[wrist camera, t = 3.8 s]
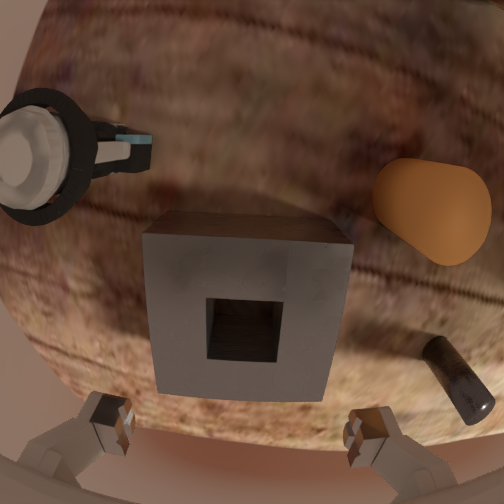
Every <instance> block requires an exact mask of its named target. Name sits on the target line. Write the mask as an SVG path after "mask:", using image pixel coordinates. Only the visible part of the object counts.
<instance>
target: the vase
mask: <svg viewBox="0 0 504 504" xmlns="http://www.w3.org/2000/svg"><path fill="white" fill-rule="evenodd" d="M488 1H489V2H491V3H492V4H494V5H495V6H497V7H499V8H501V9H502V10H504V0H488Z"/></svg>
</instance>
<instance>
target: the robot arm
mask: <svg viewBox="0 0 504 504" xmlns="http://www.w3.org/2000/svg"><path fill="white" fill-rule="evenodd" d="M131 407H132V403H131V400H130V399H129V398H124V397H120V396H115V395H110V394H106V393H101V392H97V391H93V392H91V393H90V395H89V396H88V398H87V400H86V402H85V404H84V405H83V407H82V409H81V411H80V413H79V414H78V416H77V418H72V419H70V420H68V421H66V422H64V423H62V424H60V425H59V426H57V427H55V428H53V429H51V430H49V431H47V432H45V433H43V434H41V435H39V436H38V437H36V438H34V439H32V440H30V441H29V442H28V444H27V445H26V447H25V449H24V450H23V452H22V454H21V455H20V457H19V459H18V461H17V462H15V461H13V460H10V459H9V458H7V457H5V456H3V455H1V454H0V504H139V503H135V502H130V501H126V500H122V499H118V498H114V497H110V496H106V495H103V494H99V493H96V492H93V491H89V490H86V489H83V488H81V486H80V484H79V483H78V481H77V480H76V478H75V477H76V476H77V475H78V474H79V473H81V472H82V471H83V470H85V469H86V468H87V467H88V466H90V465H91V464H92V463H94V462H95V461H96V460H97V459H98V458H100V457H101V456H102V455H104V454H105V453H110V454H114V455H119V456H125V455H126V453H127V450H128V447H129V440H128V438H130V437H131V436H133V433H134V430H135V415H134V413H133V412H132V411H131V410H130V409H131ZM348 417H349V422H347V423H346V424H345V427H344V430H343V441H344V446H345V447H346V448H347V449H349V451H348V454H347V457H348V461H349V465H350V468H355V467H366V466H371V468H373V469H374V470H375V471H376V472H377V473H378V474H379V475H380V476H381V477H382V478H383V479H384V480H385V481H386V482H387V483H388V484H389V485H391V487H393V488H394V489H395V490H396V491H397V492H398V493H399V494H398V495H397V496H396V497H395V499H394V500H393V501H392V502H391V504H504V466H503V467H500V468H498V469H496V470H494V471H491V472H489V473H487V474H484V475H482V476H479V477H477V478H474V479H472V480H469V481H466V482H464V483H461V484H458V483H457V481H456V479H455V476H454V474H453V472H452V470H451V468H450V466H449V464H448V462H447V461H445V460H443V459H442V458H440V457H439V456H437V455H436V454H434V453H433V452H431V451H430V450H428V449H427V448H425V447H424V446H422V445H421V444H419V443H418V442H416V441H415V440H413V439H412V438H410V437H409V436H407V435H402V432H401V430H400V428H399V426H398V423H397V421H396V419H395V417H394V415H393V412H392V410H391V408H390V407H389V406H385V407H376V408H365V409H354V410H351V411H350V413H349V416H348ZM104 452H105V453H104Z"/></svg>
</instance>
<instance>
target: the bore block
mask: <svg viewBox="0 0 504 504" xmlns="http://www.w3.org/2000/svg"><path fill="white" fill-rule="evenodd" d="M142 252H143V268H144V282H145V294H146V305H147V315H148V324H149V333H150V342H151V349H152V357H153V364H154V371H155V378H156V384H157V390H158V393H162V394H170V395H178V396H188V397H198V398H209V399H222V400H238V401H263V402H319V401H322V399H323V395H324V392H325V388H326V384H327V380H328V376H329V372H330V368H331V364H332V359H333V355H334V351H335V346H336V342H337V337H338V333H339V328H340V323H341V318H342V313H343V308H344V303H345V298H346V293H347V287H348V282H349V276H350V270H351V264H352V258H353V252H354V244H353V242H352V241H351V240H350V239H349V238H348V237H347V236H346V235H345V234H344V233H343V232H342V231H341V230H340V229H339V228H338V227H337V226H336V225H335V224H334V223H333V222H332V221H331V220H322V219H308V218H294V217H278V216H261V215H243V214H222V213H200V212H173V211H167V212H166V213H165V214H164V215H163V216H161V217H160V218H159V219H158V220H157V221H155V222H154V223H153V224H152V225H151V226H149V227H148V228H147V229H146V230H145V231H144V232H142ZM216 298H221V299H238V300H257V301H274V303H273V313H272V317H252V316H233V315H217V314H216Z"/></svg>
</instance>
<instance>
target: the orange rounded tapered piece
mask: <svg viewBox="0 0 504 504" xmlns="http://www.w3.org/2000/svg"><path fill="white" fill-rule="evenodd" d="M372 204H373V209H374V212H375V214H376V216H377V218H378V220H379V221H380V222H381V224H382V225H384V226H385V227H386V228H387V229H389V230H390V231H392V232H393V233H394V234H396V235H397V236H399V237H400V238H402V239H403V240H404V241H406V242H407V243H409V244H410V245H411V246H413V247H414V248H415V249H417V250H418V251H420V252H421V253H422V254H424V255H425V256H426V257H428V258H429V259H430V260H432V261H433V262H435V263H437V264H439V265H443V266H453V265H458V264H460V263H463V262H465V261H466V260H468V259H469V258H471V257H472V256H473V255H474V254H475V253H476V252H477V251H478V250H479V248H480V247H481V245H482V244H483V242H484V240H485V238H486V236H487V234H488V231H489V227H490V223H491V216H492V206H491V199H490V195H489V192H488V189H487V187H486V185H485V183H484V181H483V180H482V179H481V178H480V176H479V175H478V174H476V173H475V172H474V171H472V170H470V169H468V168H465V167H461V166H456V165H450V164H444V163H439V162H433V161H426V160H420V159H413V158H399V159H396V160H393V161H391V162H390V163H388V164H387V165H386V166H385V167H383V168H382V170H381V171H380V172H379V174H378V175H377V177H376V179H375V182H374V185H373V189H372Z"/></svg>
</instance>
